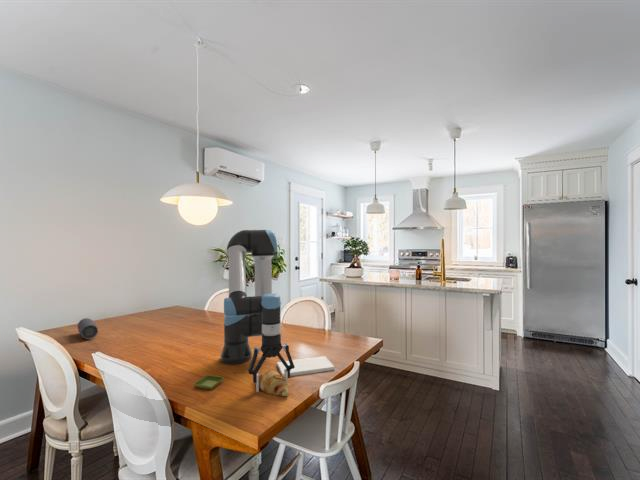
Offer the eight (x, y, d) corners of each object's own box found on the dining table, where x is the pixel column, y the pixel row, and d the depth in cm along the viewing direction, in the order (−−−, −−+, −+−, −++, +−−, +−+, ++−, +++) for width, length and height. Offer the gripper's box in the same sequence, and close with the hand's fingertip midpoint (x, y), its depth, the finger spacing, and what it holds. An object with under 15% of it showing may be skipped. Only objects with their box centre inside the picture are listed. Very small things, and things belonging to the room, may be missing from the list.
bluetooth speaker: (76, 334, 205) (76, 318, 205) (94, 331, 211) (93, 316, 211) (79, 342, 188) (79, 325, 188) (99, 339, 194) (98, 322, 194)
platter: (282, 377, 137) (282, 373, 137) (277, 365, 151) (277, 362, 151) (334, 370, 144) (334, 366, 144) (325, 359, 158) (325, 356, 158)
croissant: (294, 404, 122) (301, 383, 124) (275, 400, 115) (283, 378, 118) (262, 385, 136) (269, 366, 139) (243, 381, 130) (251, 361, 133)
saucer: (211, 391, 126) (211, 386, 126) (193, 388, 128) (193, 383, 128) (224, 382, 134) (224, 377, 134) (207, 379, 137) (207, 374, 137)
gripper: (242, 339, 120) (242, 397, 120) (301, 333, 127) (302, 388, 127) (240, 333, 127) (241, 388, 127) (297, 328, 134) (298, 380, 134)
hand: (271, 388), depth 127 cm, fingers open, 11 cm apart
